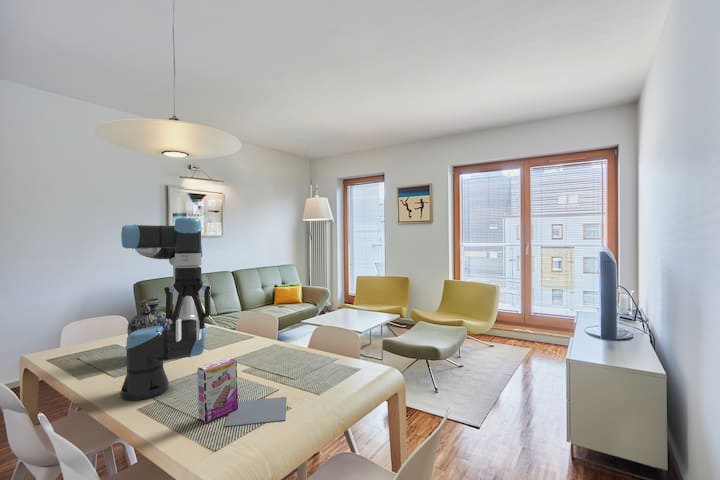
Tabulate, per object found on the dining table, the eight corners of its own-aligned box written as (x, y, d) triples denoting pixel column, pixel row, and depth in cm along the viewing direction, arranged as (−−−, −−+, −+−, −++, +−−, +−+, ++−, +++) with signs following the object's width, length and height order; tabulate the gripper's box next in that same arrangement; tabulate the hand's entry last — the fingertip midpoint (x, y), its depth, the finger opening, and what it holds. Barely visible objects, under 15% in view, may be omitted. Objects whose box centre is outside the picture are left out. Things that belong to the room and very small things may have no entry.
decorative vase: (169, 361, 160) (168, 301, 160) (122, 367, 153) (121, 305, 153) (175, 348, 180) (174, 295, 180) (134, 353, 173) (132, 298, 173)
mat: (224, 427, 103) (224, 426, 103) (233, 402, 119) (233, 401, 119) (285, 420, 106) (285, 419, 106) (286, 397, 122) (286, 396, 122)
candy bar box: (206, 424, 104) (203, 370, 104) (198, 419, 108) (196, 367, 107) (239, 409, 113) (237, 359, 113) (231, 405, 116) (229, 356, 116)
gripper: (151, 268, 103) (152, 345, 103) (216, 266, 107) (216, 341, 107) (161, 266, 111) (161, 338, 111) (221, 265, 114) (221, 334, 114)
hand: (188, 339), depth 109 cm, fingers open, 5 cm apart
